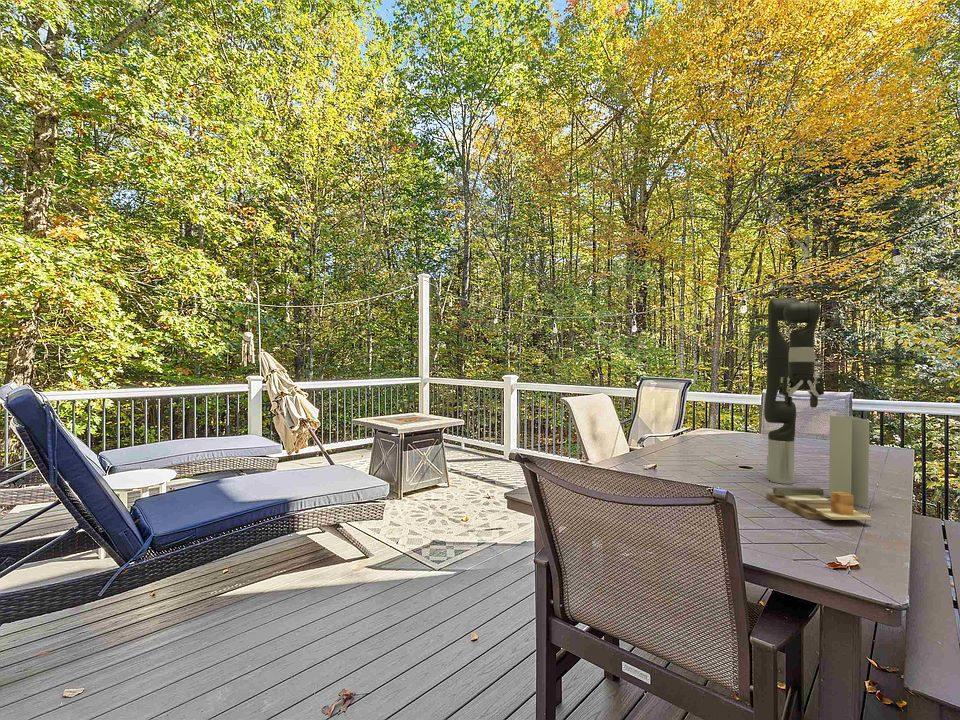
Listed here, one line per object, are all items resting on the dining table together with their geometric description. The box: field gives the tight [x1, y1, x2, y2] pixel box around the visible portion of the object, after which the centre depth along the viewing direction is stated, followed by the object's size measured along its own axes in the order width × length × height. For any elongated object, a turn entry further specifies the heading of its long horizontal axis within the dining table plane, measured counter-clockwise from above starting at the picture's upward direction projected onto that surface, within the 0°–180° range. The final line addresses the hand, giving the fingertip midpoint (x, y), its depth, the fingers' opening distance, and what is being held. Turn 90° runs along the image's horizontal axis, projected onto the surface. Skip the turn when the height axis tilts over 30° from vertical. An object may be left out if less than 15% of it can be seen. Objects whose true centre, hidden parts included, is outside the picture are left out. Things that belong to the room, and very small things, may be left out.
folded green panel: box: [828, 414, 870, 509], centre depth 172 cm, size 14×6×30 cm, turn 168°
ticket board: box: [765, 486, 865, 520], centre depth 165 cm, size 22×18×5 cm
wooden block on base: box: [816, 492, 872, 521], centre depth 151 cm, size 8×12×7 cm, turn 91°
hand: (801, 407), depth 167 cm, fingers open, 8 cm apart
